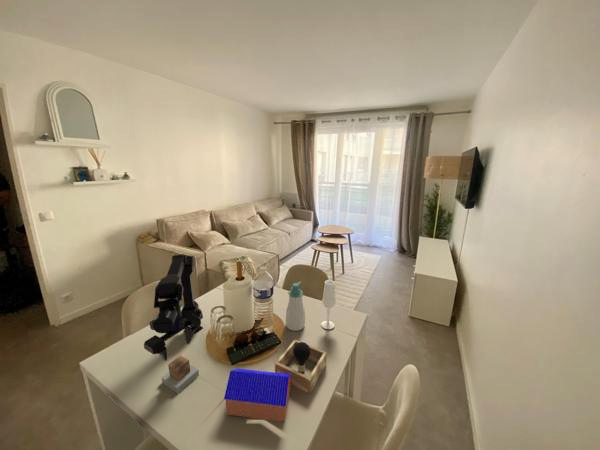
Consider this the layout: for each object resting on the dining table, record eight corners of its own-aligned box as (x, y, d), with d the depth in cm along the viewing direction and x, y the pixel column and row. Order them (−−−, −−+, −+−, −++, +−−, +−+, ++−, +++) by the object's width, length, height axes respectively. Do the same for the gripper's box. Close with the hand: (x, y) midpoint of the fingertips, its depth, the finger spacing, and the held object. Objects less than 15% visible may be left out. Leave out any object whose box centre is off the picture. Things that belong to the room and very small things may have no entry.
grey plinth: (184, 366, 97) (183, 360, 97) (199, 376, 93) (198, 369, 92) (162, 383, 90) (161, 377, 89) (177, 394, 85) (176, 388, 85)
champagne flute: (330, 331, 119) (332, 286, 113) (318, 325, 123) (320, 282, 117) (336, 324, 124) (339, 281, 118) (325, 319, 128) (327, 277, 122)
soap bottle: (308, 324, 123) (309, 284, 118) (296, 334, 116) (296, 291, 111) (294, 317, 129) (295, 278, 124) (281, 325, 122) (281, 284, 117)
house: (238, 383, 90) (236, 357, 87) (291, 389, 88) (291, 362, 85) (225, 415, 78) (222, 386, 76) (285, 423, 76) (285, 393, 73)
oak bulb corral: (294, 351, 106) (294, 339, 104) (326, 364, 99) (326, 352, 97) (275, 376, 93) (274, 363, 91) (309, 394, 86) (310, 380, 84)
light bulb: (309, 363, 99) (309, 338, 96) (310, 377, 93) (311, 351, 90) (292, 363, 99) (293, 338, 96) (293, 377, 92) (293, 351, 89)
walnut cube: (181, 366, 94) (180, 355, 93) (190, 371, 92) (188, 360, 90) (169, 375, 90) (168, 364, 88) (178, 381, 87) (176, 369, 86)
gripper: (181, 296, 97) (185, 330, 100) (131, 321, 81) (138, 360, 85) (200, 304, 92) (203, 339, 95) (150, 332, 76) (157, 373, 79)
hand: (177, 351), depth 89 cm, fingers open, 9 cm apart
